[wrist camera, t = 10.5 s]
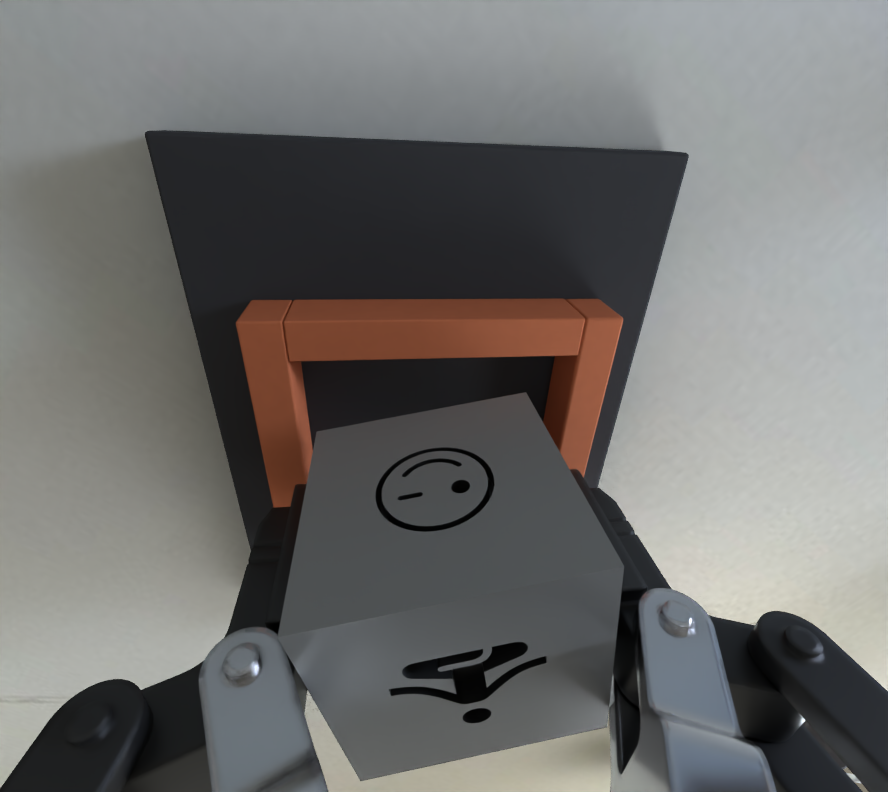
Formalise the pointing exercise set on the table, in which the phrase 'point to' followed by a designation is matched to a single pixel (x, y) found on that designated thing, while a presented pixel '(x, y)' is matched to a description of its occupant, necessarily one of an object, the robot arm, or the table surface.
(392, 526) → the dice cube
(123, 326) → the table surface
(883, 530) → the table surface
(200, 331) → the black pad
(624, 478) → the table surface
